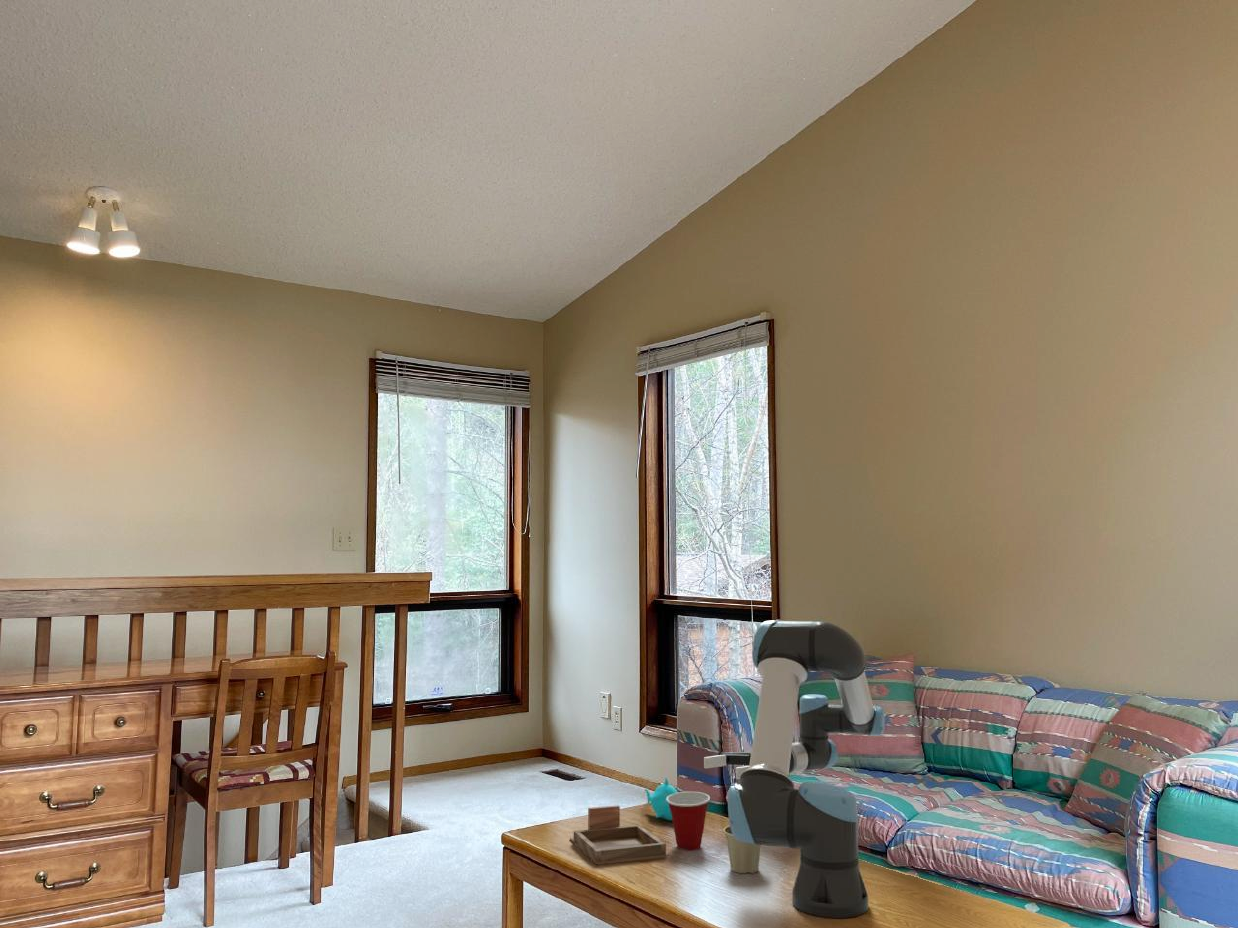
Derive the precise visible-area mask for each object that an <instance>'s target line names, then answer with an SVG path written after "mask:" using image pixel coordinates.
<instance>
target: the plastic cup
mask: <svg viewBox="0 0 1238 928" xmlns="http://www.w3.org/2000/svg"><path fill="white" fill-rule="evenodd" d="M710 797H711V795H709V794H707V793H705V792H701V791H680V792H678V793H675V794H671V795H669V796H668V797H667V798H666V801H667V802H668V804H669V807H670V811H671V815H672V821H671V822H672V827H673V831H674V836H675V837H674V838H675V842H676V845H677V848H678V849H681V850H686V851H692V850H693V851H694V850H699V849H701V845H702V840H703V835H704V830H705V822H706V815H707V810H708V804H709V803H710V799H711V798H710Z"/></svg>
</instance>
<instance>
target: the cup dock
mask: <svg viewBox="0 0 1238 928" xmlns="http://www.w3.org/2000/svg"><path fill="white" fill-rule="evenodd" d="M620 807H621V806H620V805H607V806H595V807H594V806H593V807H588V808H587V813H588V815H587V816H588V817H587V829H582V830H573V837H569V841H570V840H571V841H572V842H573V843H574V844H573V843H572V842H571V841H570V842H571V843H572V844H573V845H575V846H576V847H577V849H578V850H580V852H582V853H583V854H584V855H585V856H586V855H587V856H588V857H589V858H590V860H591V861H592V862H593V863H594V862H595V863H594V864H595V865H596V864H598V865H606V864H605V863H607V864H615V863H622V862H623V863H624V862H632V861H634V862H635V861H641V860H649V859H650V860H651V859H659V858H661V859H662V858H666V857H667V844H666V842H664V841H662V840H661V839H659V837H657V836H656V835H654V834H653V833H651V832H650V831H649V830H647V829H646V828H644V827H643V826H642V825H640V824H634V825H623V826H621V824H620V822H621V820H620V819H621V818H620V812H621V810H620V809H621V808H620ZM587 856H586V857H587ZM588 857H587V858H588ZM589 858H588V859H589Z"/></svg>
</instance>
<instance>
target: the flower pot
mask: <svg viewBox="0 0 1238 928" xmlns="http://www.w3.org/2000/svg"><path fill="white" fill-rule="evenodd" d="M722 831H723V834H725V839H726V841H727V842H726V843H727V849H728V858H729V864H730V869H731V870H732V872H735V873H739V874H747V873H750V874H753V873H756V872H757V871H758V870H759V864H760V856H761V848H762V845H757V844H756V845H753V844H751V843H746V842H740V841H738V840H736V839H735V837H734V836H733V834H732V831H731V828H730V825H727V826H726V827H724V828H723V829H722Z"/></svg>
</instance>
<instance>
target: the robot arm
mask: <svg viewBox="0 0 1238 928" xmlns="http://www.w3.org/2000/svg"><path fill="white" fill-rule="evenodd" d="M751 655H752V656H751V658H752V663H753V666H754V667H755V668H757V672H758V674H759V675H760V677H761V678H762V681H761V686H760V687H761V688H760V693H759V699H758V707H757V714H756V719H755V720H756V721H755V725H754V732H753V738H752V739H753V741H752V745H751V751H743V752H742V751H734V752H733V751H732V752H731V751H730V752H725V751H722V752H720V755H719V754H717V755H710V756H704V757H703V768H704V769H712V768H718V767H720V768H721V767H723V768H726V766H727V765H734V766H738V767H735V779H736V780H739V783H738V782H734V783H731V784H730V785H729V788H728V793H727V812H728V820H729V821H728V822H729V826H730V828H731V831H732V834H733V836H734V837H735V839H736V840H738V841H740V842H746V843H751V844H753V845H756V844H757V845H761V846H770V847H777V848H778V847H779V848H787V849H788V848H789V849H798V850H799V852H800V858H799V859H800V865H799V867H798V871H797V874H796V877H795V881H794V884H793V888H792V892H791V895H792V897H791V898H792V899H791V900H792V906H794V907H795V908H796V909H798V910H800V911H802V912H804V913H806V914H808V915H813V916H815V917H816V916H817V917H818V916H819V917H822V918H823V917H824V918H829V919H831V918H835V919H845V918H855V917H858V916H861V915H864V914H865V913H866V912H868V911H869V895H868V892H867V888H866V885H865V882H864V880H863V876H862V874H861V871H860V865H859V828H858V827H859V825H858V823H859V822H858V821H859V815H858V813H859V812H858V804H857V803H858V802H857V799H856V797H855V795H854V794H853V793H852V792H851V791H849V790H847V789H845V788H843V787H842V786H837V785H834V784H831V783H826V782H820V781H805V782H801V783H800V785H799V787H798V789H796V788H795V782H794V781H793V780H792V778H791V777H790V776H789V774H792V775H794V776H796V775H797V773H802V772H808V771H815V770H816V771H817V770H819V771H820V770H825V769H828V768H831V767H833V766H834V765H836V763H837V761H838V758H839V751H838V749H837V745H836V744H835V742H834V741H833V740H832V739H829V733H830V734H831V733H832V734H847V735H856V736H857V735H861V736H869V737H871V736H882V735H884V733H885V727H886V725H885V722H886V719H885V718H886V717H885V710H884V708H883V707H881V706H877V705H874V704H873V700H872V696H871V691H870V688H869V683H868V679H867V675H866V671H865V670H866V668H867V658H866V654H865V650H864V649H863V647H862V646H861V644H860V642H859V641H858V640H857V639H856V638H855V637H854V636H853V635H852V634H851V633H849V632H848V631H847V630H846V629H844V628H842V627H841V626H838V625H837V624H835V623H832V622H828V621H820V620H819V621H815V620H813V621H809V620H808V621H807V620H806V621H805V620H804V621H802V620H783V619H775V620H772V619H771V620H765V621H763V622H761V623H760V624H759V626H758V627H757V628H756V631H755V634H754V637H753V642H752V653H751ZM809 672H828V673H829V675H830V676H831V677H832V678H833V679H834V681H835V682H834V683H835V685H836V688H837V693H838V694H839V698H840V702H841V703H831V702H830V703H829V701H828V699H829V698H828V697H827V696H826V695H824V694H815V693H813V694H811V693H810V694H804V695H802V696H801V697H800V698H799V693H800V685H801V684H803V683H805V681H807V679H808V673H809ZM798 701H799V712H798V715H799V742H793V740H794V734H795V733H794V732H795V724H796V717H797V716H796V715H797V708H798Z"/></svg>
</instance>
